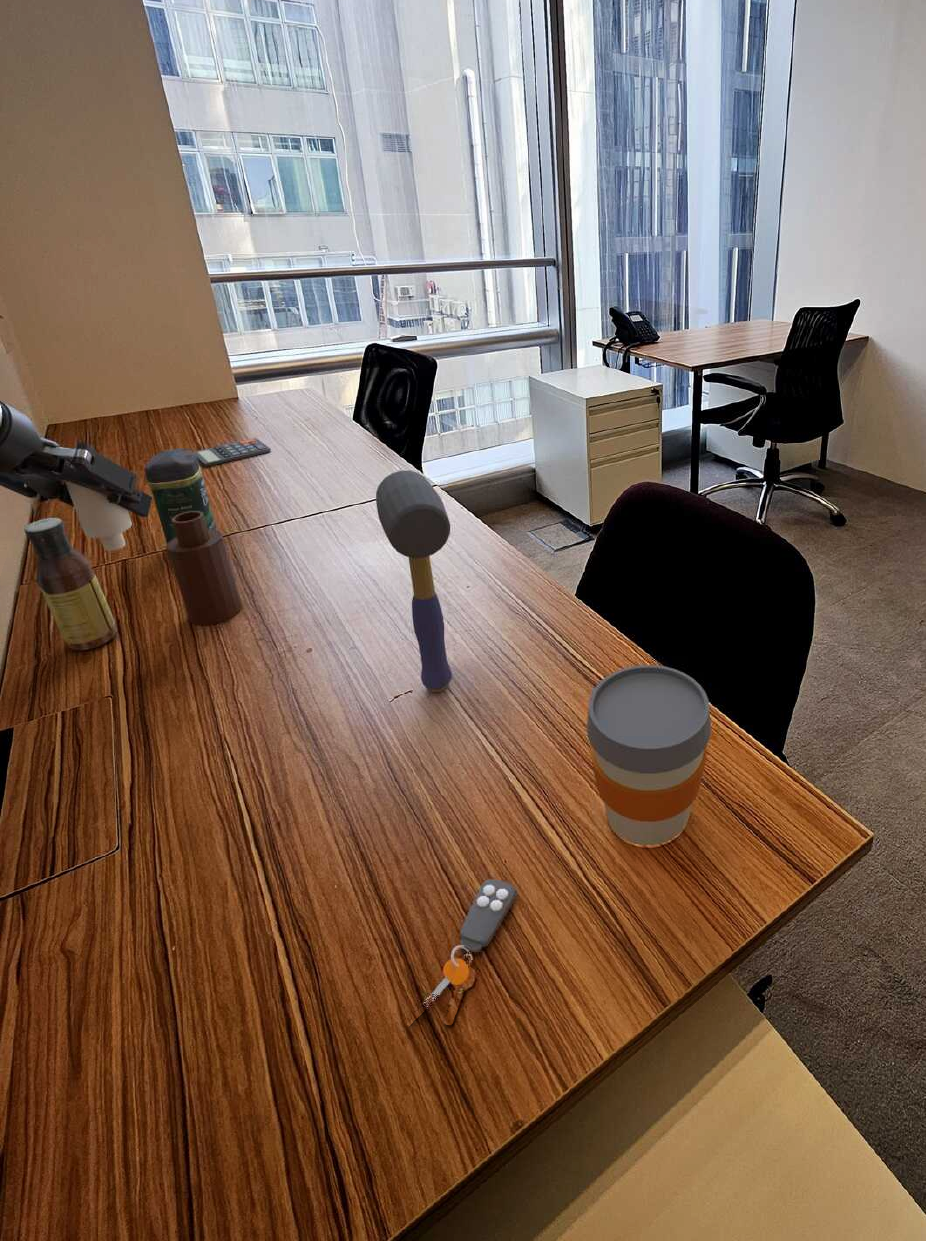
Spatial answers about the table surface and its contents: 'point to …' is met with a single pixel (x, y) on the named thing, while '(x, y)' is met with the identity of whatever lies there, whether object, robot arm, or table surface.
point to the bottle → (203, 570)
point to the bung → (100, 516)
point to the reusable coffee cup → (648, 749)
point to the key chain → (478, 928)
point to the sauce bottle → (70, 587)
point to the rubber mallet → (419, 561)
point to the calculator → (231, 452)
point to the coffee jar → (177, 488)
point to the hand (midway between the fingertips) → (124, 507)
